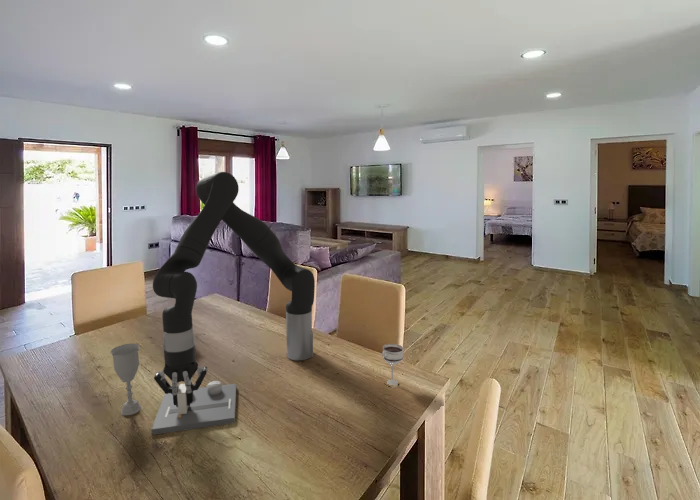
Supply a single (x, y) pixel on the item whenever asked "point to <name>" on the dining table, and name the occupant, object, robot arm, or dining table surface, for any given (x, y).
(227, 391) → the console
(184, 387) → the block
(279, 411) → the dining table surface
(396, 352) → the wineglass
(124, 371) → the chalice
